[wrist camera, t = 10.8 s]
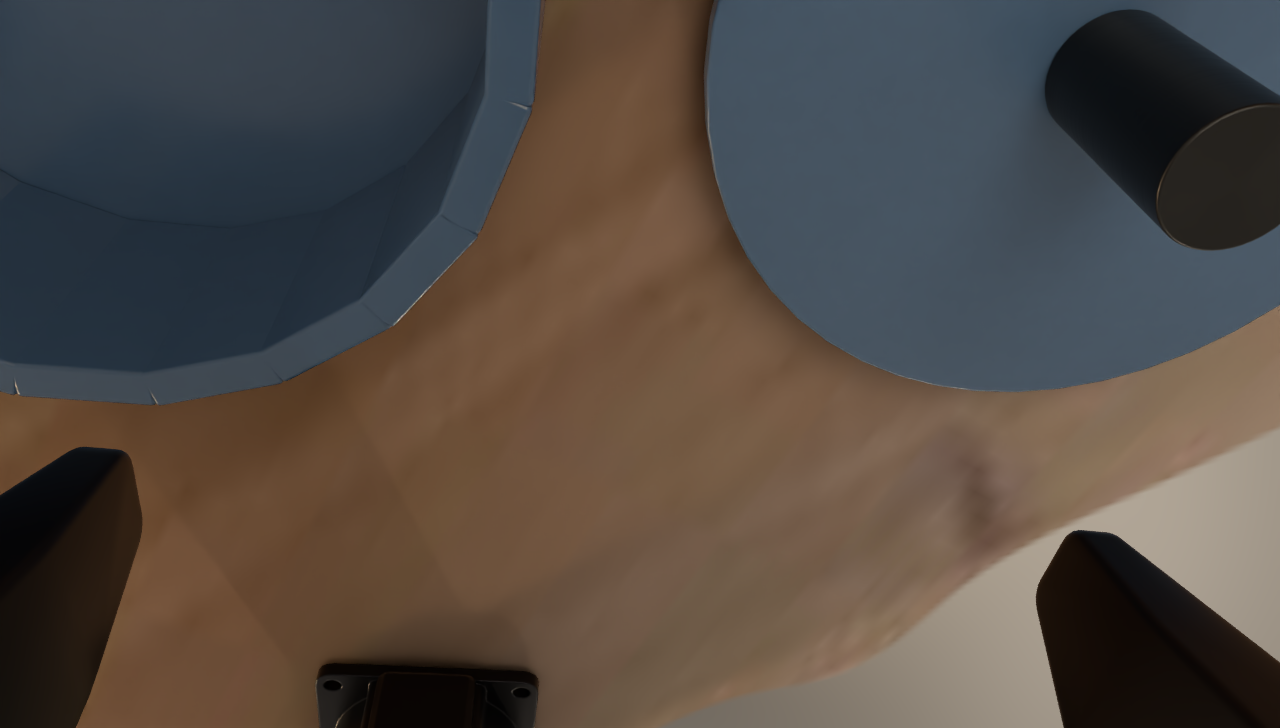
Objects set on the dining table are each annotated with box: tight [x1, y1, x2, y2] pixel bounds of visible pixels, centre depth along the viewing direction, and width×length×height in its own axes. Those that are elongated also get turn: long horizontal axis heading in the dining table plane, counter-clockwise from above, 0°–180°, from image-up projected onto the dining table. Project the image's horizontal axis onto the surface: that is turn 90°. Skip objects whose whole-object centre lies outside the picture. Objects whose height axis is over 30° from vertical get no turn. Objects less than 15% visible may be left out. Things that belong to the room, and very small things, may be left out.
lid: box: [704, 0, 1280, 392], centre depth 17 cm, size 15×15×6 cm
